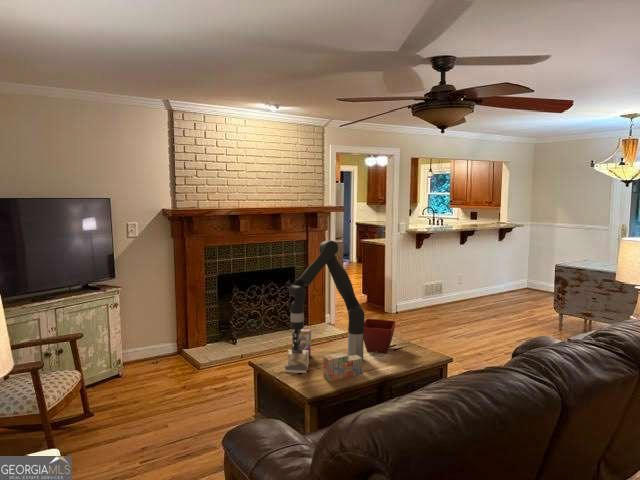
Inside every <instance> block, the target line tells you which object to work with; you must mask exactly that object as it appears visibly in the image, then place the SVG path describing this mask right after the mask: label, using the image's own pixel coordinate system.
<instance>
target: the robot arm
mask: <svg viewBox="0 0 640 480" xmlns="http://www.w3.org/2000/svg"><path fill="white" fill-rule="evenodd" d="M318 250H319V255H318V256H317V258H316V259H315V260H314V261H313V262H311V264H310V265H308V267H307V268H306V269H305V270H304V271H303V273H302V274H301V276H300V277H298V278H297V279H296V280H295V281H294V282H292V284H290V286H289V288H288V294H289V295H290V297H293V298H294V300H293V301H292V302H291V303H290V317H289V318H290V329H291V330H293V329H294V332H293V344H294V350H298V345H300V338H301V329H304V328H305V326H304V325H305V324H304V323H305V315H304V314H305V313H304V303H305V301H306V300H305V299H306V294H307V293H306V289H305V287H306V286H307V287H308V286H310V285H311V284H312V282H313V281H314V280H315V279H316V278H317V275H318V274H319V273H320V272H321V270H322V269H323V268H324V267H325V266H326V265H327V266H326V267H328V268H327V269H328V270H329V273H330V275H331V277H332V280H333V283H334V285H335V287H336V289H337V291H338V293H339V295H340V296H341V297H342V299H343V301H344V304H345V307H346V311H347V315H348V328H347V333H348V334H347V336H348V337H347V355H348V356H353V355H358V356H359V357H361V358H362V363H364V340H363V337H364V322H365V312H364V309H363V307H362V306H361V304H360V302H359V300H358V299H357V297H356V294H355V290H354V288H353V284H352V281H351V279H350V277H349V275H348V273H347V271H346V269H345V268H344V267H343V266H342V264H341V263H340V262H339V260H338V258H337V256H336V255H337V253H338V252H339V245H338V243H337V242H336V241H334V240H325V241H324V240H323V241H322V242H321V243H320V244H319V247H318ZM295 340H296V342H295Z"/></svg>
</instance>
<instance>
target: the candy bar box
mask: <svg viewBox="0 0 640 480" xmlns="http://www.w3.org/2000/svg"><path fill="white" fill-rule="evenodd" d="M293 332H294V329H292V334H291V335H292V338H291V340H292V341H291V342H292V343H291V344H292V345H294V344H293ZM295 342H296V340H295ZM292 345H291V346H292ZM298 346H303V350H309V357H310V358H311V355H312V329H304V328H303V329H301V338H300V345H298Z"/></svg>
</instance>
